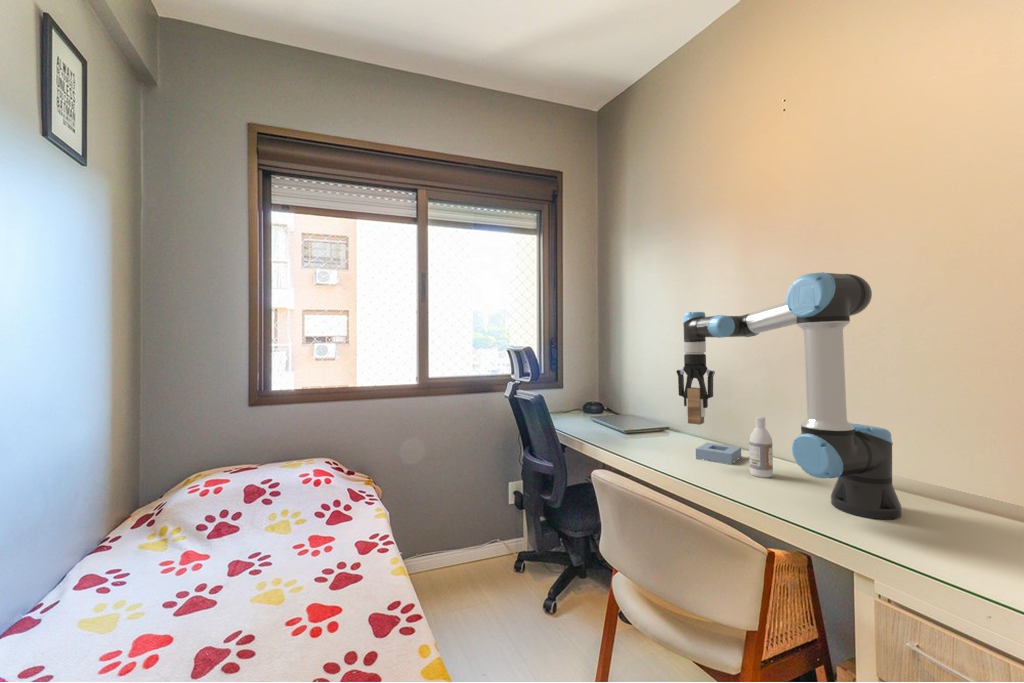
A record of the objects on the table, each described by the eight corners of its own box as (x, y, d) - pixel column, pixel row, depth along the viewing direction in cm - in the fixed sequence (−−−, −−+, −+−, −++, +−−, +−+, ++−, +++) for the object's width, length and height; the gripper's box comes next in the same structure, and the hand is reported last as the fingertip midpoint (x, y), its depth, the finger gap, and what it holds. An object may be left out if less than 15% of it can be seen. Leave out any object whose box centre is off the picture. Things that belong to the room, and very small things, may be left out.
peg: (700, 424, 161) (699, 389, 161) (687, 423, 164) (687, 388, 164) (704, 422, 164) (703, 388, 164) (692, 421, 167) (691, 387, 167)
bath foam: (769, 479, 147) (768, 419, 147) (746, 475, 152) (746, 417, 152) (775, 474, 152) (774, 417, 152) (753, 470, 157) (752, 414, 157)
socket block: (731, 464, 164) (731, 454, 164) (695, 458, 173) (695, 448, 173) (741, 457, 174) (741, 447, 174) (707, 452, 183) (707, 442, 183)
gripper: (722, 353, 161) (724, 416, 161) (675, 352, 172) (676, 412, 173) (716, 354, 155) (717, 419, 155) (667, 353, 167) (668, 414, 167)
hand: (695, 415), depth 164 cm, fingers closed on peg, 4 cm apart
